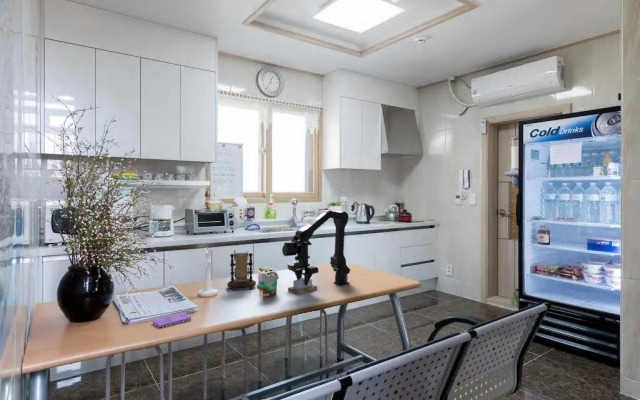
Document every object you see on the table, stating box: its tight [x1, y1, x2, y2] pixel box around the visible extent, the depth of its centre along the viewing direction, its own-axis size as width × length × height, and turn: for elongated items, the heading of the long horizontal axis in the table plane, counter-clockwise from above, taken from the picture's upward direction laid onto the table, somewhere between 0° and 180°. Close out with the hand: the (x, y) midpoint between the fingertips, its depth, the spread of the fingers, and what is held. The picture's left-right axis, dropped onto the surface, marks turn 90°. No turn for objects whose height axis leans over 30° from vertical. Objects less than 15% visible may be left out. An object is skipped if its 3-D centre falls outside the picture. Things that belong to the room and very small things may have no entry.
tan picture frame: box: [287, 284, 318, 295], centre depth 190 cm, size 13×8×2 cm, turn 131°
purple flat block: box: [152, 312, 192, 328], centre depth 147 cm, size 7×13×2 cm, turn 133°
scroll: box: [226, 249, 257, 291], centre depth 195 cm, size 15×15×20 cm
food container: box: [261, 271, 279, 298], centre depth 182 cm, size 12×6×10 cm, turn 168°
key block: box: [292, 277, 313, 290], centre depth 190 cm, size 4×9×6 cm, turn 131°
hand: (302, 284), depth 190 cm, fingers open, 5 cm apart
